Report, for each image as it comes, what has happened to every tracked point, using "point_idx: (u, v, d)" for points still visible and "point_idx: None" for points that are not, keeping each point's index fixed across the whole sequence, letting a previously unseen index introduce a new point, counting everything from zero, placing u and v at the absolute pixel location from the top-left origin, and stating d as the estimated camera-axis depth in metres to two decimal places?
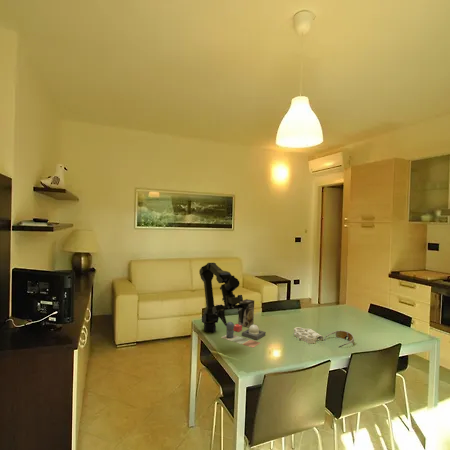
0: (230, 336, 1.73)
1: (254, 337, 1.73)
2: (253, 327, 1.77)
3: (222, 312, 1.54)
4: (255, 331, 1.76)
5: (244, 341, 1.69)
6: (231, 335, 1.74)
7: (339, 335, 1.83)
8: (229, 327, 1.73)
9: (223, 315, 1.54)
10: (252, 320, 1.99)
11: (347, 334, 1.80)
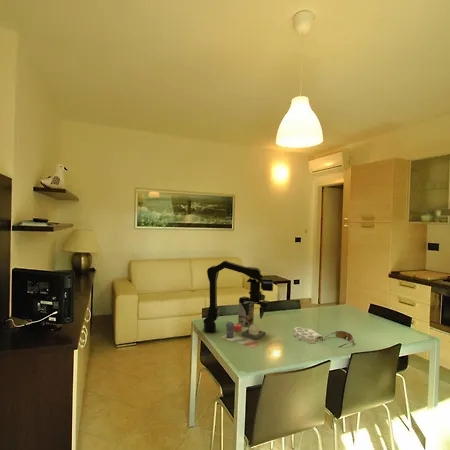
0: (230, 336, 1.73)
1: (254, 337, 1.73)
2: (253, 327, 1.77)
3: None
4: (255, 331, 1.76)
5: (244, 341, 1.69)
6: (231, 335, 1.74)
7: (339, 335, 1.83)
8: (229, 327, 1.73)
9: None
10: (252, 320, 1.99)
11: (347, 334, 1.80)
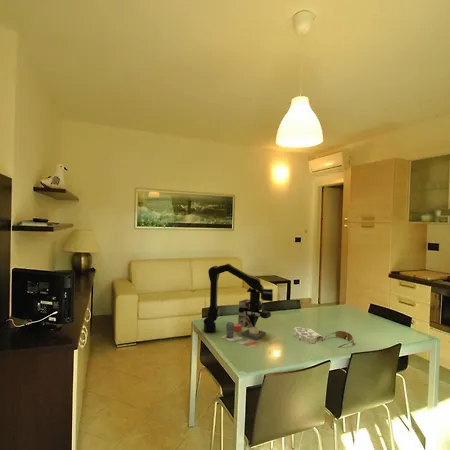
0: (230, 336, 1.73)
1: (254, 337, 1.73)
2: (253, 329, 1.77)
3: None
4: (255, 333, 1.76)
5: (244, 341, 1.69)
6: (231, 335, 1.74)
7: (339, 336, 1.83)
8: (229, 327, 1.73)
9: None
10: None
11: (347, 334, 1.80)
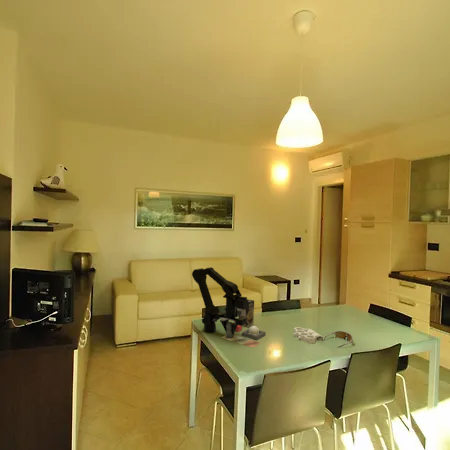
0: (230, 336, 1.73)
1: (254, 337, 1.73)
2: (253, 328, 1.77)
3: None
4: (255, 332, 1.76)
5: (244, 341, 1.69)
6: (231, 335, 1.74)
7: (339, 336, 1.83)
8: (229, 327, 1.73)
9: None
10: (252, 320, 1.99)
11: (346, 334, 1.80)
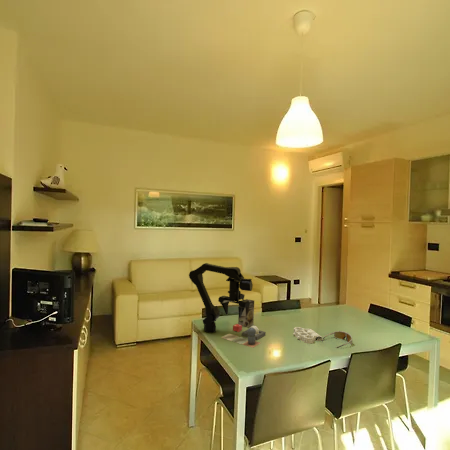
0: (252, 343, 1.65)
1: None
2: None
3: None
4: None
5: (244, 341, 1.69)
6: (253, 341, 1.65)
7: (338, 336, 1.82)
8: (251, 333, 1.64)
9: None
10: (252, 320, 1.99)
11: (346, 335, 1.79)
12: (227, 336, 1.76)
